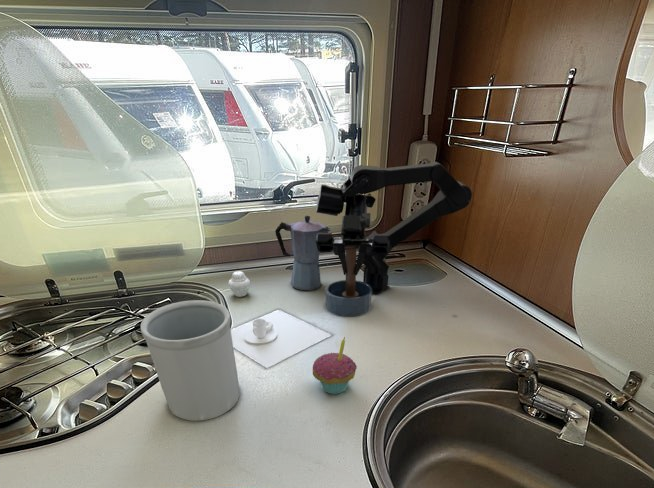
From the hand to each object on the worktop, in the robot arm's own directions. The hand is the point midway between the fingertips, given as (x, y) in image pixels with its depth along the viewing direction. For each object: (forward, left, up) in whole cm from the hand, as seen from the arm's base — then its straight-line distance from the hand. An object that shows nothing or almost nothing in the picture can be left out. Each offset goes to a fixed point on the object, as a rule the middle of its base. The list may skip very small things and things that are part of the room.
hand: (350, 274), depth 107 cm
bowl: (-1, +1, -10) cm, 10 cm away
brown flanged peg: (-1, +1, -7) cm, 7 cm away
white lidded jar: (-29, -14, -10) cm, 34 cm away
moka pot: (-20, +3, -10) cm, 23 cm away
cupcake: (+21, -29, -10) cm, 37 cm away
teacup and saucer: (-4, -23, -10) cm, 26 cm away
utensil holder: (+5, -49, -10) cm, 50 cm away
